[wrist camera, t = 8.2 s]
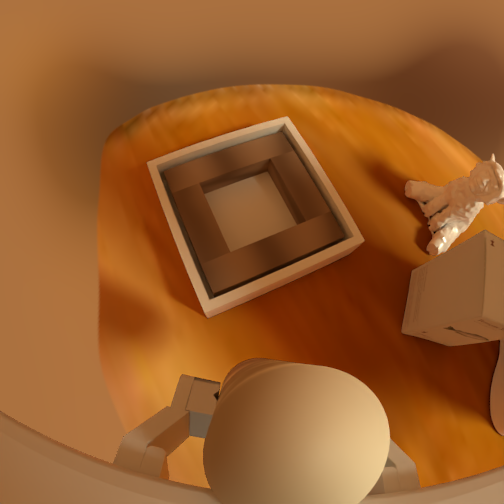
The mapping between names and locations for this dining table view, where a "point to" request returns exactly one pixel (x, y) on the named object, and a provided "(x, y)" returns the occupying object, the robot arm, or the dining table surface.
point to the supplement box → (459, 294)
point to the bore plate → (265, 250)
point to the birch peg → (294, 436)
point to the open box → (251, 214)
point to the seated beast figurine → (457, 202)
